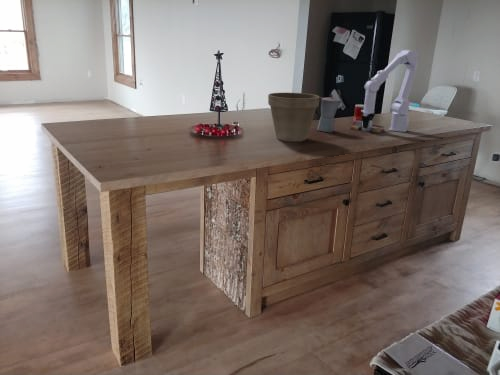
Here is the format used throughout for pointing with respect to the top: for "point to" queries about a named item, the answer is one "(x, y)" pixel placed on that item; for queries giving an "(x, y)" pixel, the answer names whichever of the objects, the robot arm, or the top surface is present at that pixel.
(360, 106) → the canned food
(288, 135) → the plant pot
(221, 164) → the top surface
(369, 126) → the grey round flask
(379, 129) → the brown wooden panels
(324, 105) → the moka pot
